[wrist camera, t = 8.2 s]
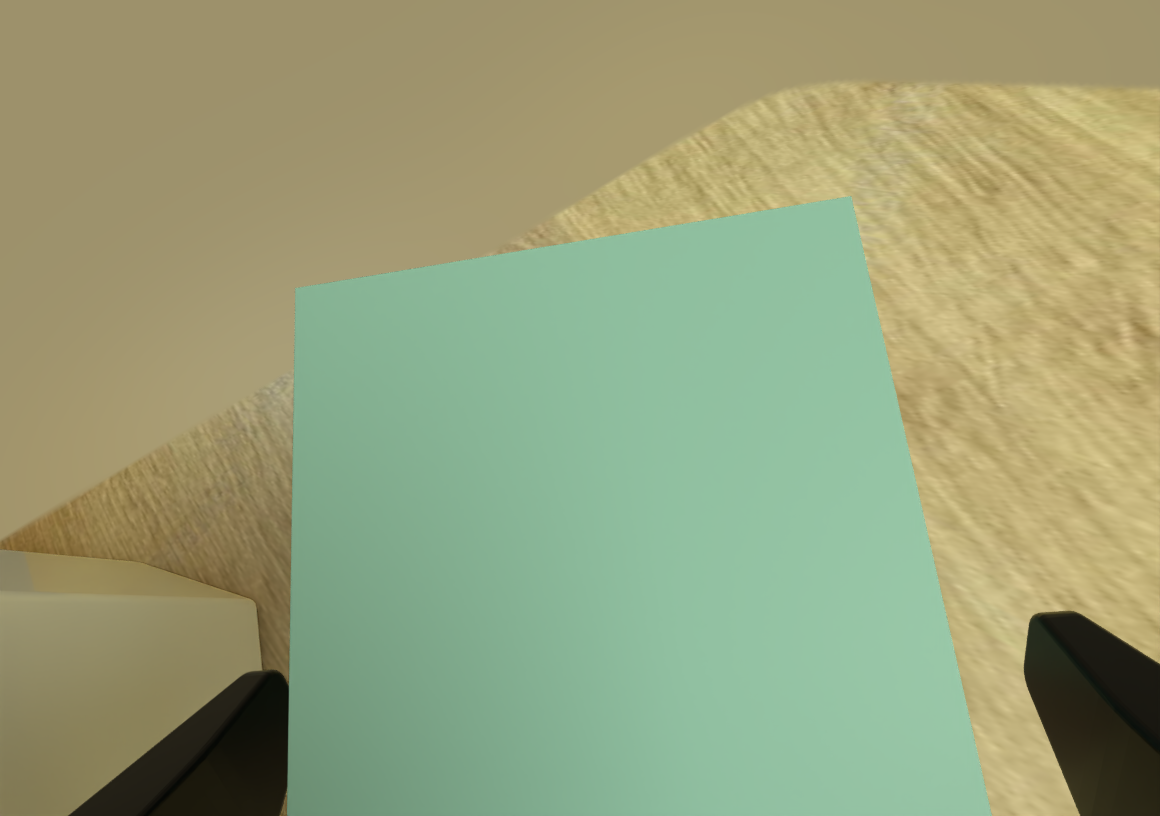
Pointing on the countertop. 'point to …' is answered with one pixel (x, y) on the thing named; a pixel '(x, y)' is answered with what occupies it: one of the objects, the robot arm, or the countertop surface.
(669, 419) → the teal block
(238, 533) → the countertop surface
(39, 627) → the jar
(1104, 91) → the countertop surface
